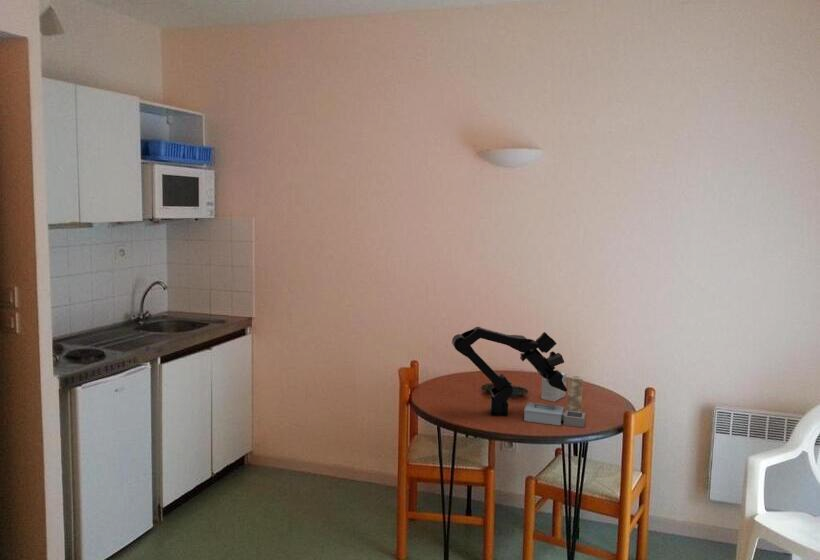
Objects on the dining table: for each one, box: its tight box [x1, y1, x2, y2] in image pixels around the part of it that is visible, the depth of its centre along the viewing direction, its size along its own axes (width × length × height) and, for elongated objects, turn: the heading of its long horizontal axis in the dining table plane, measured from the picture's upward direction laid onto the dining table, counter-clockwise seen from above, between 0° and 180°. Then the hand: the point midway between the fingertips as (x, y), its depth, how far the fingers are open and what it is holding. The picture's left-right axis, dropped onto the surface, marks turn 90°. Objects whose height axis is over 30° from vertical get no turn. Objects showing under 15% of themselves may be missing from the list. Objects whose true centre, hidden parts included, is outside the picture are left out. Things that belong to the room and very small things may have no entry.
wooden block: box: [566, 375, 584, 412], centre depth 268 cm, size 4×4×15 cm
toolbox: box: [523, 401, 586, 428], centre depth 260 cm, size 23×10×6 cm, turn 72°
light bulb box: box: [541, 371, 567, 402], centre depth 289 cm, size 11×7×11 cm, turn 141°
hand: (562, 387), depth 268 cm, fingers open, 9 cm apart
